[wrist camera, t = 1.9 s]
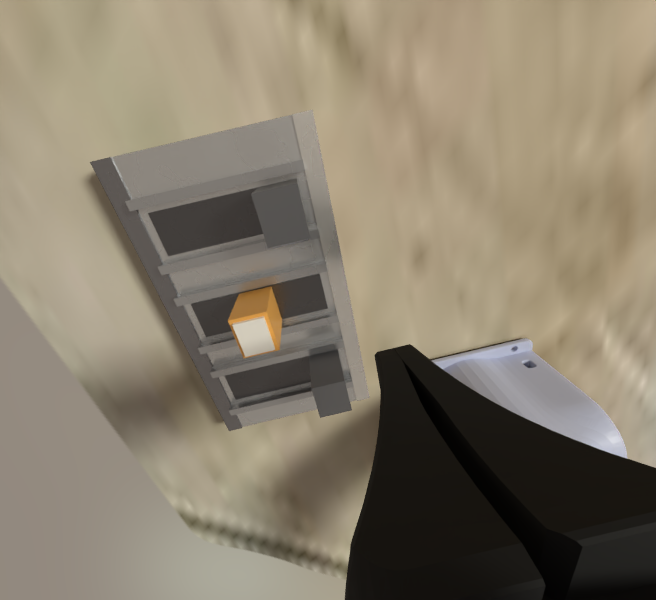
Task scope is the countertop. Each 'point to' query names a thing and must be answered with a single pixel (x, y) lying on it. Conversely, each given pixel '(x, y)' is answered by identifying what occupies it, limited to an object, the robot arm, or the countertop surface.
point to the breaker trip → (256, 322)
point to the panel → (240, 259)
